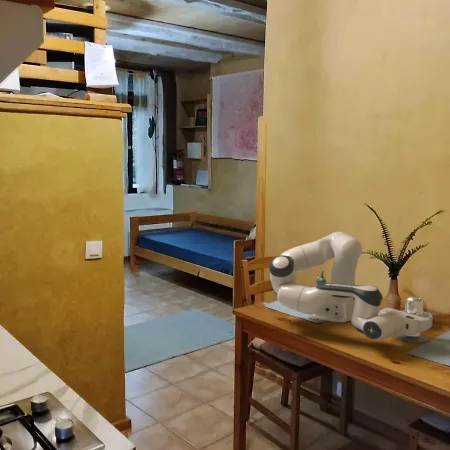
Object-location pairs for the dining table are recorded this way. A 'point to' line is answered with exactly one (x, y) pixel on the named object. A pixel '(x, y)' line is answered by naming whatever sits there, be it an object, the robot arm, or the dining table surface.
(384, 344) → the dining table surface
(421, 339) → the coaster
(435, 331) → the dining table surface
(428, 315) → the bowl
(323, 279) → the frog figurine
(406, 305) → the beer glass
